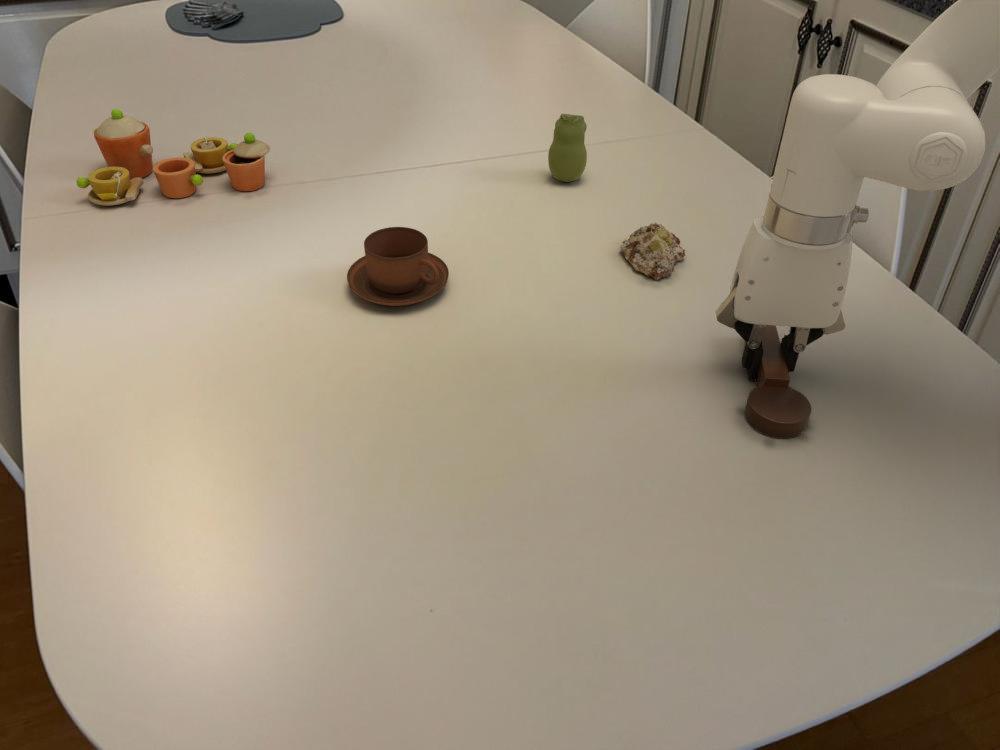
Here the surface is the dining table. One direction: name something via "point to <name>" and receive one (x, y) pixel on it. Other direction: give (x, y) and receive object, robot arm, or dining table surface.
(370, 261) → the cup and saucer
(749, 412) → the brown handled disc
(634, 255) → the mineral rock
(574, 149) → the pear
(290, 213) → the dining table surface
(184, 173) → the toy tea set
